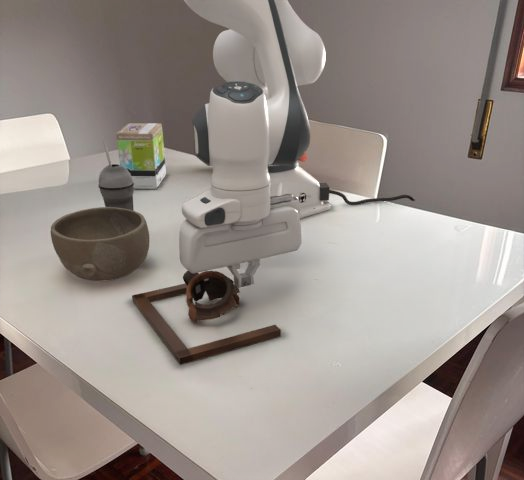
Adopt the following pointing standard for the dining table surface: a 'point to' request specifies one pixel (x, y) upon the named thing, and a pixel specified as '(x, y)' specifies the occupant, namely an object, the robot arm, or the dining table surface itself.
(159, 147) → the tea box
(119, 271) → the bowl
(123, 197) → the beverage cup
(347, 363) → the dining table surface
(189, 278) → the broken brown mug
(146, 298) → the frame
